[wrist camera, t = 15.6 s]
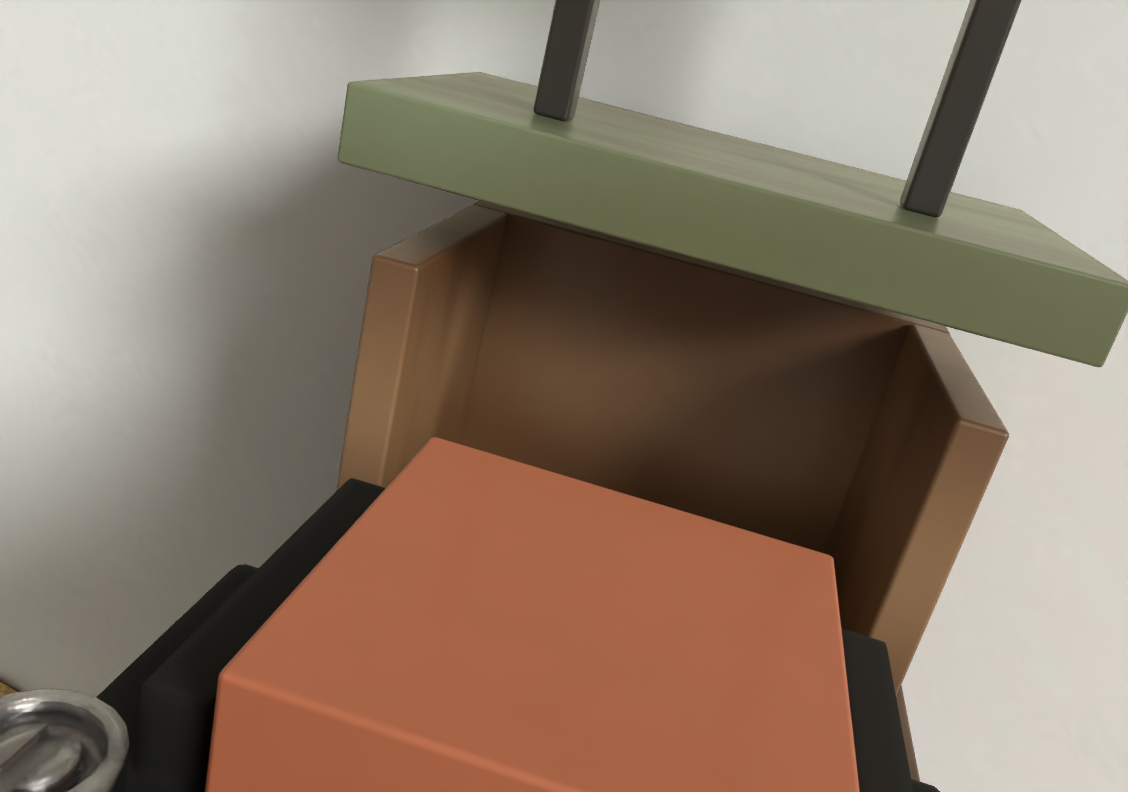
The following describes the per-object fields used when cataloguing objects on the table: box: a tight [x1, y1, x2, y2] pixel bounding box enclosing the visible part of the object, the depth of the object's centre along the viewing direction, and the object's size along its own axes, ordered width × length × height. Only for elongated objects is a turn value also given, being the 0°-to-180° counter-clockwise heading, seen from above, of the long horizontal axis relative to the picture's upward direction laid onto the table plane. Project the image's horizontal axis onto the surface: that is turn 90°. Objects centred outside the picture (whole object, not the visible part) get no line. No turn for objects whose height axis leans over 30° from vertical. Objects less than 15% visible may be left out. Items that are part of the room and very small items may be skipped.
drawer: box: [336, 0, 1128, 695], centre depth 18 cm, size 21×11×7 cm, turn 167°
